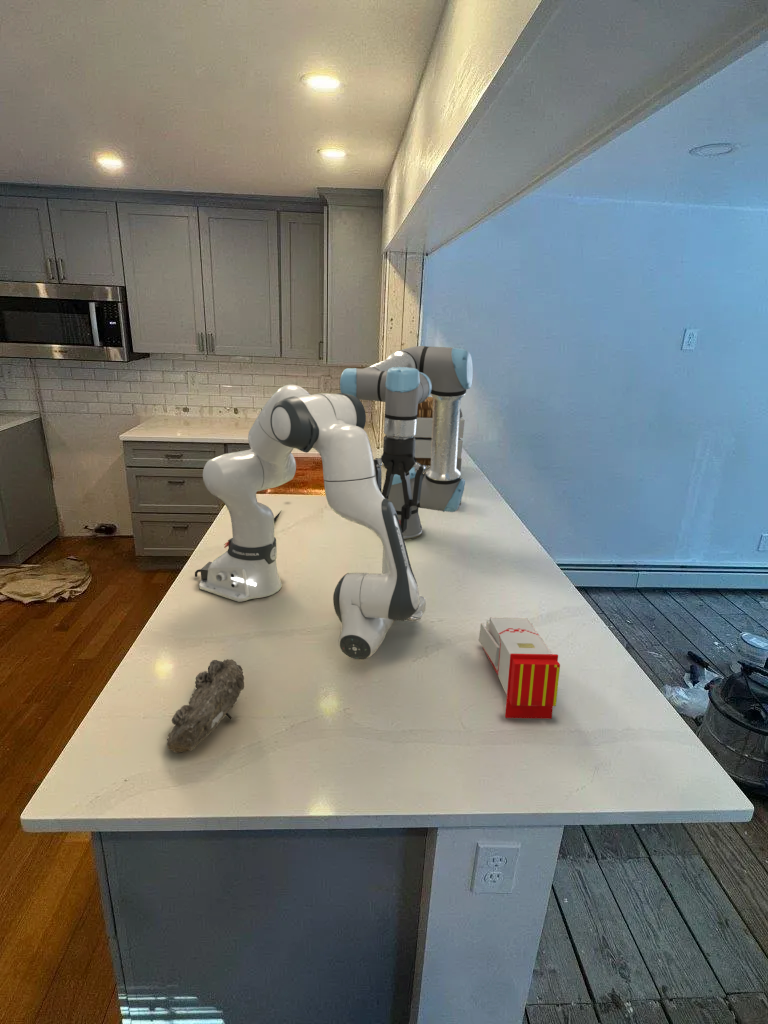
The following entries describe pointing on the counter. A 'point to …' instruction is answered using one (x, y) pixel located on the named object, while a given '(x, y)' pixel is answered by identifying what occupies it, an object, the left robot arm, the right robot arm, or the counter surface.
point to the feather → (276, 517)
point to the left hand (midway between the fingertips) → (392, 587)
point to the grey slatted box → (425, 434)
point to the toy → (522, 666)
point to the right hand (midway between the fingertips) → (394, 528)
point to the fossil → (206, 705)
